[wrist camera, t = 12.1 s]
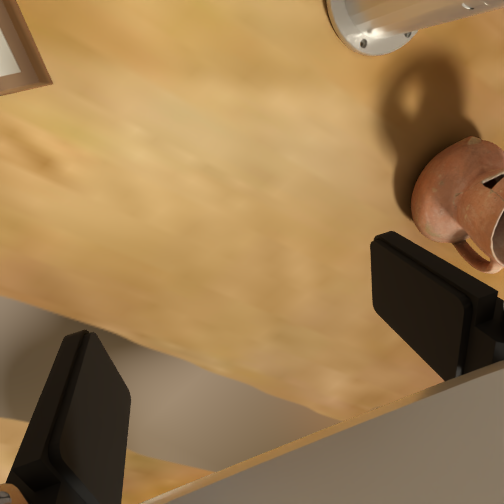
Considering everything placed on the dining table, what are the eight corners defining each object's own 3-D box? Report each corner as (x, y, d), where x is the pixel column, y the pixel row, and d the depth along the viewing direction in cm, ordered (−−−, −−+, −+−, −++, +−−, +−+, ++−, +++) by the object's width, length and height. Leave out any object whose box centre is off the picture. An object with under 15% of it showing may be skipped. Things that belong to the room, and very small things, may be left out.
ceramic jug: (407, 134, 43) (508, 149, 30) (498, 121, 46) (624, 130, 33) (393, 254, 51) (468, 305, 39) (470, 237, 54) (564, 280, 41)
